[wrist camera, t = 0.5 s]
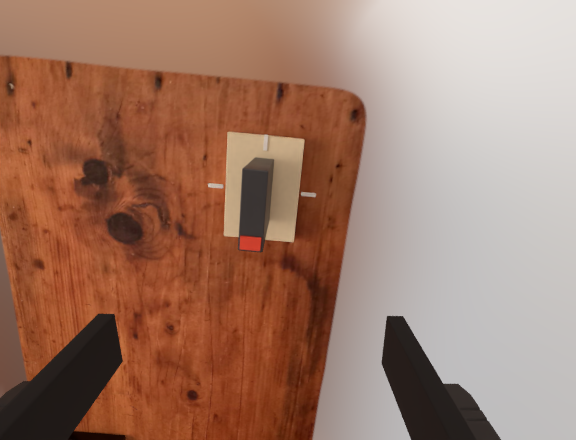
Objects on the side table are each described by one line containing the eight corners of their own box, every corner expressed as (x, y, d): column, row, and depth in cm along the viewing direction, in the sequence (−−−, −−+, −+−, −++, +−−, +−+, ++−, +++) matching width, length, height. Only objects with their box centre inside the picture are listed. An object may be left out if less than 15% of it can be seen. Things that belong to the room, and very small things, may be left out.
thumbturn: (254, 157, 29) (241, 168, 21) (274, 159, 29) (268, 171, 21) (250, 219, 30) (237, 251, 23) (269, 221, 31) (262, 254, 23)
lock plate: (214, 128, 30) (209, 129, 28) (320, 139, 30) (322, 140, 28) (212, 229, 33) (207, 236, 31) (308, 238, 33) (309, 245, 31)
